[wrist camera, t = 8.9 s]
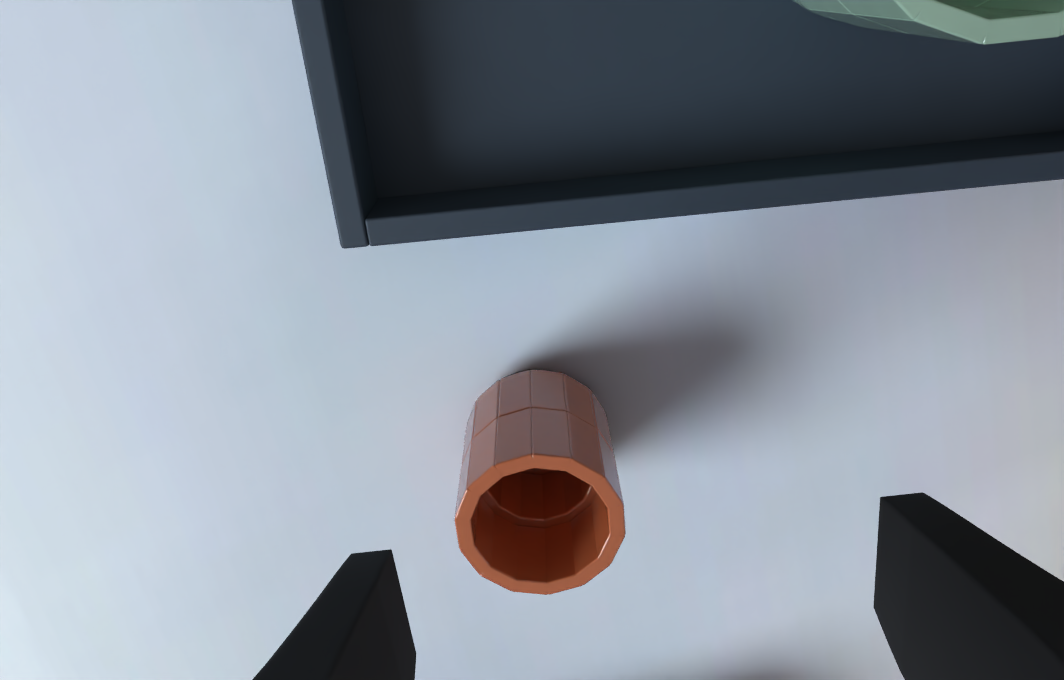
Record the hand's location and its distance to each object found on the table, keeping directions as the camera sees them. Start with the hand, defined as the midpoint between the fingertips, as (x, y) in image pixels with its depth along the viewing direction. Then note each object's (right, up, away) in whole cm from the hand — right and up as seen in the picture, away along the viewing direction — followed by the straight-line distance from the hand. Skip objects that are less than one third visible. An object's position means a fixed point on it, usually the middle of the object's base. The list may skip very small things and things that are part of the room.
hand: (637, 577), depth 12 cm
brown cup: (-1, +1, +9) cm, 10 cm away
